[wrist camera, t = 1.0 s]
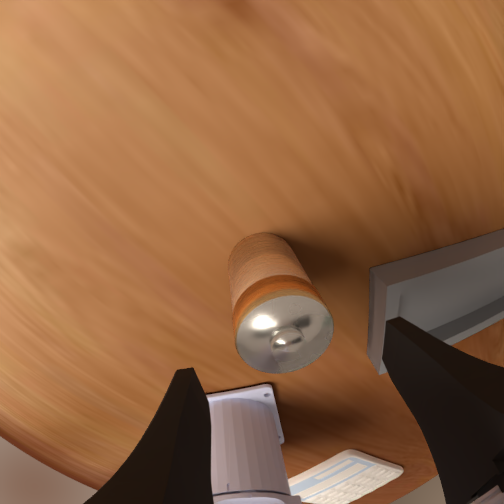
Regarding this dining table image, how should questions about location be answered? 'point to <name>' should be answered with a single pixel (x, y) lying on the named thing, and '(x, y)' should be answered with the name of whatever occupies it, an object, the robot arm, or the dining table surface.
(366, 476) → the calculator
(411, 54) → the dining table surface
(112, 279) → the dining table surface
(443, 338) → the trough
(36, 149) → the dining table surface
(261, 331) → the cell
